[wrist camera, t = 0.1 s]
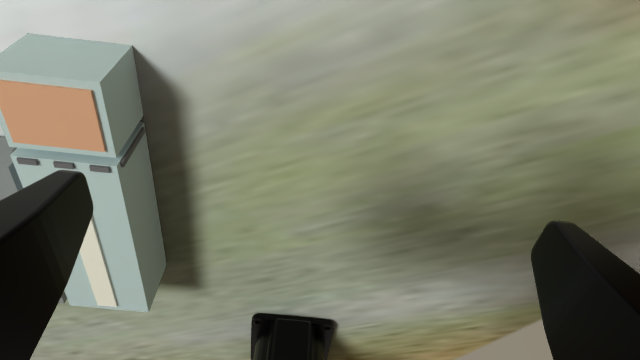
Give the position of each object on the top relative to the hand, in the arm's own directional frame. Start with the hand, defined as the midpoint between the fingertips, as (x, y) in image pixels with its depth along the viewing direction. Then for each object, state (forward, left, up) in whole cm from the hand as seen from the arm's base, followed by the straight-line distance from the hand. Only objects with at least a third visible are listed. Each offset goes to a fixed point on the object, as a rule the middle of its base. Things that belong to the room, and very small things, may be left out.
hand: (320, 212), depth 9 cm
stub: (-6, +12, -15) cm, 20 cm away
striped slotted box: (-14, +12, -15) cm, 24 cm away
